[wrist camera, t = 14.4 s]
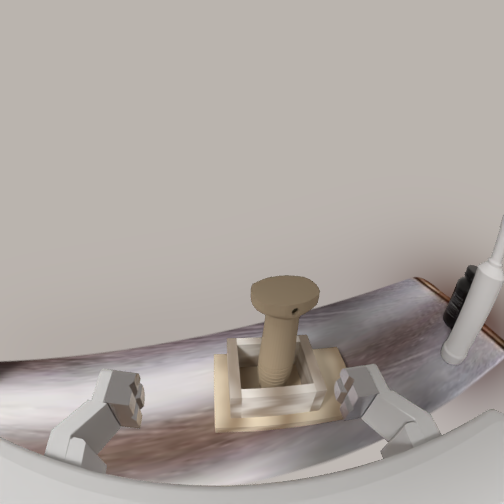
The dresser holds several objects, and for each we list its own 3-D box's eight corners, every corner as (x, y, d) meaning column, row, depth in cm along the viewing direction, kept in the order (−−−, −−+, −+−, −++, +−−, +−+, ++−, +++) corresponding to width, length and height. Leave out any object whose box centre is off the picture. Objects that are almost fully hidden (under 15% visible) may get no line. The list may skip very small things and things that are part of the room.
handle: (241, 379, 34) (245, 280, 27) (287, 369, 36) (305, 272, 29) (253, 408, 30) (261, 310, 23) (302, 395, 32) (328, 298, 25)
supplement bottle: (471, 336, 41) (495, 283, 36) (443, 328, 44) (466, 274, 39) (466, 316, 46) (487, 267, 41) (441, 309, 49) (460, 259, 44)
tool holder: (215, 432, 27) (212, 408, 25) (214, 360, 38) (212, 331, 36) (362, 415, 29) (376, 389, 27) (335, 352, 40) (343, 325, 38)
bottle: (461, 349, 38) (515, 217, 27) (464, 368, 34) (528, 227, 23) (439, 343, 40) (490, 207, 29) (439, 363, 36) (500, 217, 25)
